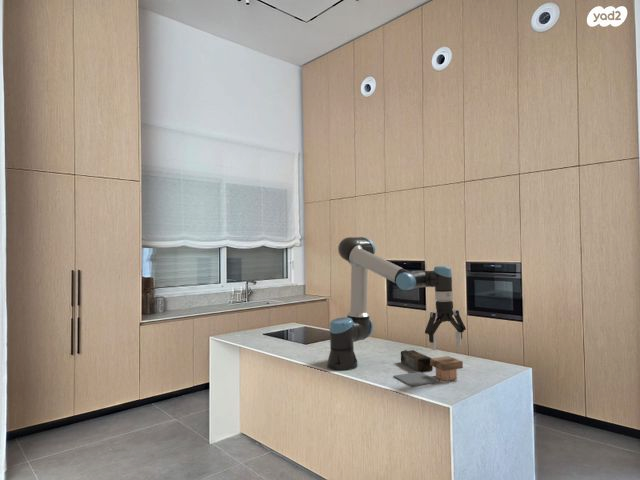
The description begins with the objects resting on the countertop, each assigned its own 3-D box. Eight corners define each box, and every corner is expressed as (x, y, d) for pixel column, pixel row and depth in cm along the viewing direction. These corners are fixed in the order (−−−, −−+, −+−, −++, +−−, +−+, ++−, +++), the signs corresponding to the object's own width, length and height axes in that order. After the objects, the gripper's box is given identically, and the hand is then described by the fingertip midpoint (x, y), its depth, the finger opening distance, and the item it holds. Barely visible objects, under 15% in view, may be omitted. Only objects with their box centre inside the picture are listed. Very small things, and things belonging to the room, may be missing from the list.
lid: (430, 365, 194) (430, 358, 194) (448, 362, 197) (448, 356, 197) (443, 370, 184) (443, 363, 184) (462, 368, 188) (462, 361, 188)
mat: (393, 376, 193) (393, 375, 193) (420, 373, 198) (420, 371, 198) (411, 386, 179) (411, 385, 179) (439, 382, 184) (439, 380, 184)
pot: (432, 375, 193) (432, 365, 193) (448, 373, 196) (448, 363, 196) (444, 381, 185) (444, 370, 185) (461, 378, 188) (460, 367, 188)
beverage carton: (414, 361, 220) (414, 348, 220) (433, 371, 201) (433, 357, 201) (400, 362, 218) (399, 349, 218) (418, 373, 199) (418, 359, 199)
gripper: (425, 303, 183) (427, 352, 183) (472, 299, 192) (474, 346, 191) (415, 301, 190) (417, 349, 190) (461, 297, 199) (463, 343, 198)
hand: (446, 348), depth 190 cm, fingers open, 13 cm apart
